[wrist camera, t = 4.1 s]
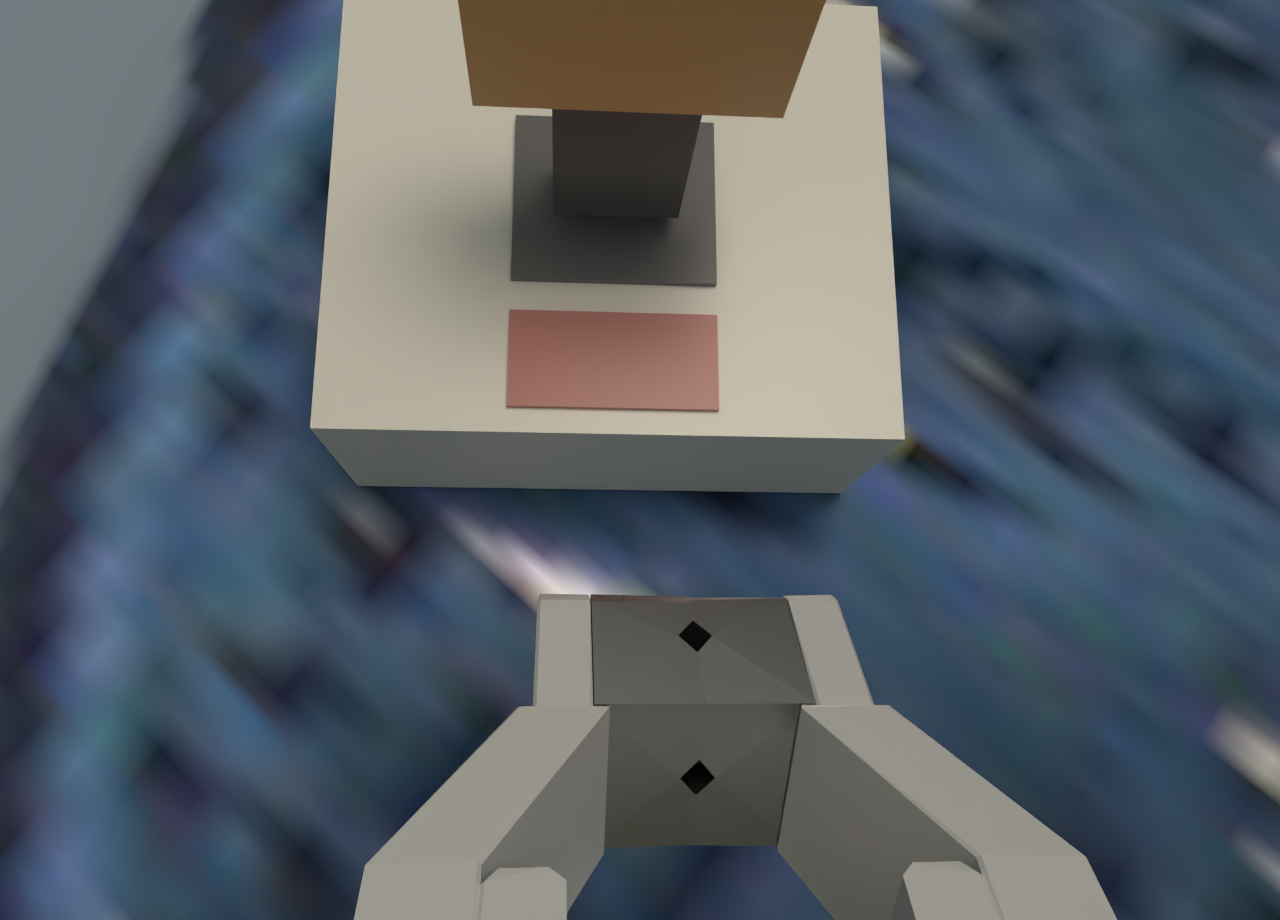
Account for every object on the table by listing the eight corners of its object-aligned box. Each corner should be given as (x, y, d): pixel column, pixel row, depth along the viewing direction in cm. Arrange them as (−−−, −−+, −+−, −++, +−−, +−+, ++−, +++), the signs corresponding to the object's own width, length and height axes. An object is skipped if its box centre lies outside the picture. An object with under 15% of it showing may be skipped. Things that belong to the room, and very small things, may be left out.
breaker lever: (740, 235, 26) (827, -6, 17) (489, 227, 25) (454, -23, 17) (738, 146, 26) (821, -129, 18) (493, 136, 26) (460, -149, 18)
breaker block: (841, 493, 31) (907, 437, 25) (350, 485, 30) (299, 425, 24) (823, 129, 34) (879, 1, 28) (376, 111, 33) (335, -25, 27)
